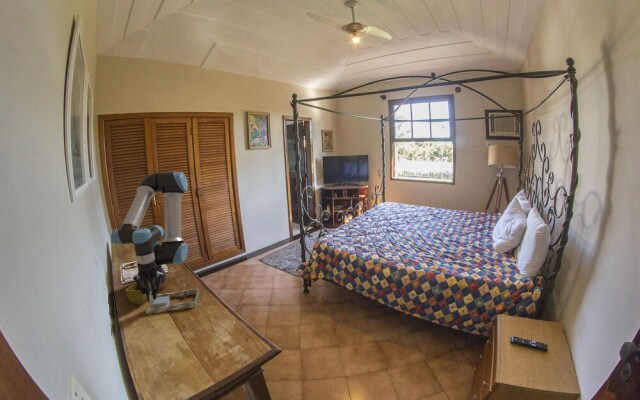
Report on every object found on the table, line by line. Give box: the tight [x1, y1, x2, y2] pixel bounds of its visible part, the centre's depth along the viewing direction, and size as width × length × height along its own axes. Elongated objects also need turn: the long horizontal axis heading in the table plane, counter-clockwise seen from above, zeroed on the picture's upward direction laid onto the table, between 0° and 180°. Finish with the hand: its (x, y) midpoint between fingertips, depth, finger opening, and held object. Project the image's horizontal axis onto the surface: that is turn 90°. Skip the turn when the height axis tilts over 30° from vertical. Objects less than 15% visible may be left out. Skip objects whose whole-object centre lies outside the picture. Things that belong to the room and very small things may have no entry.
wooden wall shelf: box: [145, 288, 201, 315], centre depth 145 cm, size 22×13×3 cm, turn 103°
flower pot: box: [124, 282, 152, 305], centre depth 146 cm, size 9×9×9 cm
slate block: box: [152, 296, 171, 308], centre depth 142 cm, size 6×6×4 cm
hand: (153, 305), depth 141 cm, fingers closed
